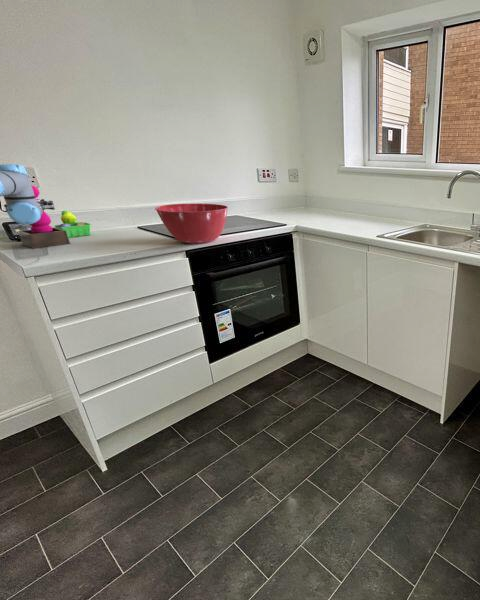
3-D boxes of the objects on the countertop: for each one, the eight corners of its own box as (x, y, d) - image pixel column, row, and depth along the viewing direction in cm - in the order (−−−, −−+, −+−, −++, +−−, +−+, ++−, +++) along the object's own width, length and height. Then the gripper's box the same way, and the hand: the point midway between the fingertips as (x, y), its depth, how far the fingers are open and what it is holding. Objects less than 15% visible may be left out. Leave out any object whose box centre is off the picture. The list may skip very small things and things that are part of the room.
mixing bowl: (245, 239, 168) (241, 206, 162) (188, 250, 144) (181, 212, 139) (207, 232, 180) (202, 201, 174) (148, 242, 156) (140, 206, 150)
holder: (33, 248, 140) (28, 234, 138) (22, 244, 145) (17, 231, 143) (70, 243, 149) (65, 230, 147) (58, 240, 155) (54, 227, 153)
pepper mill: (54, 231, 145) (37, 181, 138) (29, 233, 141) (10, 181, 133) (54, 229, 150) (38, 180, 143) (31, 230, 146) (12, 180, 138)
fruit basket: (63, 238, 157) (55, 213, 153) (56, 236, 162) (47, 211, 158) (94, 234, 167) (87, 210, 162) (86, 232, 171) (79, 209, 167)
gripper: (-4, 221, 125) (6, 213, 141) (64, 217, 136) (66, 210, 152) (-12, 199, 122) (-1, 194, 138) (58, 197, 133) (60, 192, 149)
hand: (34, 202), depth 145 cm, fingers closed on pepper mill, 5 cm apart
